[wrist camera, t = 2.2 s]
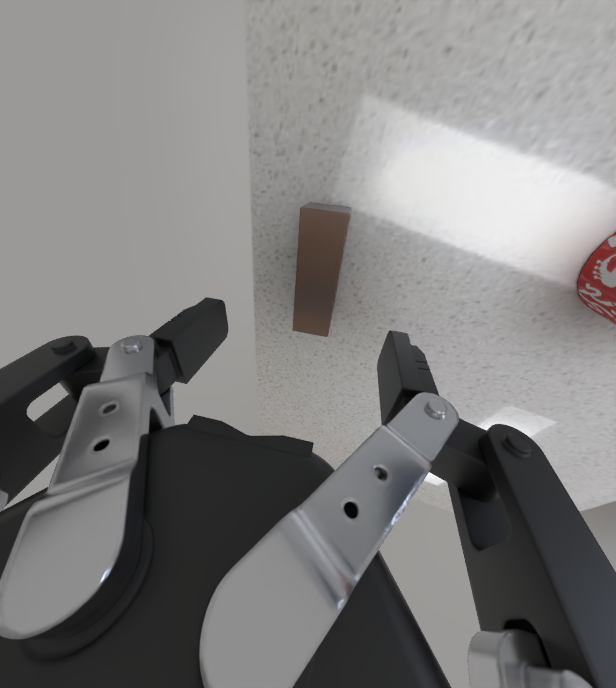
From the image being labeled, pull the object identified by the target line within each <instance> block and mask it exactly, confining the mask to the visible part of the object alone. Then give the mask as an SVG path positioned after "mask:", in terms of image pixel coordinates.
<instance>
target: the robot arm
mask: <svg viewBox="0 0 616 688" xmlns="http://www.w3.org/2000/svg"><path fill="white" fill-rule="evenodd" d="M227 333H228V323H227V315H226V308H225V304H224V302H223V301H222V300H219V299H213V298H205V299H203V300H202V301H201V302H199V303H198V304H197V305H195V306H192V307H190V308H188V309H185V310H183V311H182V312H181V313H179V314H178V315H177V316H175V317H174V318H172V319H171V321H168V322H167V323H165V324H164V325H163V326H161V327H160V328H159V329H157V330H156V331H155V332H153V333H152V334H150V335H149V336H145V335H137V336H130V337H126V338H124V339H121V340H119V341H117V342H116V343H114V344H113V345H112V346H111V347H100V348H99V347H97V348H93V346H92V345H91V343H90V342H89V340H88V338H86V337H84V336H67V337H62V338H59V339H56V340H53V341H50V342H48V343H46V344H45V345H43V346H41V347H39V348H37V349H35V350H34V351H32V352H30V353H28V354H27V355H25V356H23V357H21V358H19V359H17V360H16V361H14V362H12V363H10V364H9V365H7V366H5V367H3V368H1V369H0V688H451V686H450V684H449V682H448V680H447V679H446V677H445V675H444V673H443V671H442V669H441V667H440V665H439V663H438V661H437V659H436V658H435V656H434V654H433V652H432V650H431V648H430V646H429V644H428V642H427V641H426V638H425V637H424V635H423V633H422V631H421V629H420V627H419V625H418V623H417V621H416V620H415V618H414V616H413V614H412V612H411V610H410V608H409V606H408V604H407V602H406V600H405V599H404V597H403V595H402V593H401V591H400V589H399V587H398V585H397V583H396V581H395V580H394V578H393V576H392V574H391V572H390V570H389V568H388V566H387V564H386V562H385V561H384V559H383V557H382V555H381V553H380V551H379V548H380V547H381V545H382V544H383V542H384V540H385V539H386V537H387V536H388V534H389V533H390V531H391V530H392V528H393V527H394V525H395V523H396V522H397V520H398V519H399V517H400V516H401V514H402V513H403V511H404V509H405V508H406V506H407V505H408V503H409V502H410V500H411V499H412V497H413V496H414V494H415V493H416V491H417V489H418V488H419V486H420V485H421V483H422V482H423V480H424V479H425V477H426V476H427V474H428V472H430V473H432V474H434V475H436V476H437V477H439V478H441V479H443V480H445V481H446V482H447V483H448V487H449V492H450V496H451V501H452V505H453V509H454V514H455V518H456V523H457V527H458V531H459V536H460V540H461V545H462V549H463V554H464V558H465V562H466V566H467V571H468V576H469V580H470V584H471V589H472V593H473V598H474V602H475V606H476V611H477V616H478V620H479V624H480V628H481V631H480V632H478V633H476V634H475V635H474V636H473V637H472V639H471V641H470V644H469V648H468V670H469V688H616V572H615V570H614V569H613V567H612V565H611V564H610V562H609V560H608V559H607V557H606V555H605V554H604V552H603V551H602V549H601V547H600V545H599V544H598V542H597V541H596V539H595V537H594V536H593V534H592V532H591V531H590V529H589V527H588V526H587V524H586V522H585V521H584V519H583V517H582V516H581V514H580V512H579V511H578V509H577V507H576V506H575V504H574V503H573V501H572V499H571V498H570V496H569V494H568V493H567V491H566V489H565V488H564V486H563V484H562V483H561V481H560V479H559V478H558V476H557V474H556V473H555V471H554V469H553V468H552V466H551V465H550V463H549V461H548V460H547V458H546V456H545V455H544V453H543V451H542V450H541V449H540V447H539V446H538V445H537V444H536V443H535V442H534V441H533V440H532V439H531V438H529V437H528V436H527V435H525V434H524V433H522V432H521V431H519V430H517V429H515V428H513V427H511V426H507V425H503V424H495V425H492V426H491V427H490V428H489V429H488V430H487V431H486V430H484V429H481V428H479V427H477V426H475V425H473V424H470V423H468V422H466V421H464V420H462V419H460V418H459V416H458V413H457V411H456V409H455V408H454V407H453V406H452V405H451V404H450V403H449V402H448V401H447V400H445V399H444V398H442V397H440V396H439V394H438V391H437V388H436V385H435V382H434V380H433V377H432V374H431V372H430V369H429V366H428V364H427V360H426V357H425V355H424V353H423V352H422V351H421V350H420V349H419V348H418V347H417V346H413V345H411V344H410V340H409V337H408V334H407V333H402V332H397V331H391V330H390V331H389V332H388V334H387V337H386V340H385V342H384V345H383V348H382V350H381V353H380V356H379V359H378V365H377V372H378V384H379V396H380V409H381V421H382V425H381V426H380V427H379V428H378V429H377V430H376V431H375V432H374V433H373V434H372V435H371V436H370V437H369V438H368V439H367V440H366V441H365V442H364V443H363V444H361V445H360V446H359V447H358V448H357V449H356V450H355V451H354V452H353V453H352V454H351V455H350V456H349V457H348V458H347V459H346V460H345V461H344V462H343V463H342V464H341V465H340V466H339V467H338V468H337V469H336V470H334V469H333V468H332V467H331V465H329V464H328V463H327V462H326V461H325V460H324V459H322V458H321V457H319V456H318V455H316V454H314V453H313V452H312V448H313V442H309V441H304V440H300V439H296V438H292V437H287V436H283V435H282V436H249V435H246V434H244V433H242V432H240V431H239V430H237V429H235V428H233V427H232V426H230V425H228V424H226V423H224V422H222V421H219V420H215V419H210V418H205V417H201V416H197V415H193V417H192V418H191V419H190V421H189V422H188V424H181V425H175V423H174V397H173V388H172V384H173V383H174V382H175V381H176V382H181V383H185V384H187V383H188V382H189V381H190V379H191V378H192V377H193V376H194V374H196V372H197V371H198V370H199V369H200V368H201V367H202V365H203V364H204V363H205V362H206V361H207V360H208V358H209V357H210V356H211V355H212V354H213V352H214V351H215V350H216V349H217V348H218V347H219V346H220V344H221V343H222V342H223V341H224V340H225V338H226V337H227ZM57 383H60V384H61V385H62V386H63V388H64V389H65V390H66V391H67V392H68V394H69V395H67V396H66V397H65V398H63V399H62V400H61V401H60V402H58V403H57V404H56V405H54V406H53V407H52V408H51V409H49V410H48V411H47V412H46V413H44V414H43V415H42V416H40V417H39V418H38V419H37V420H35V421H34V422H33V421H32V420H31V419H30V418H29V417H28V416H27V408H28V406H29V405H30V403H31V402H32V401H33V400H35V399H36V398H38V397H39V396H40V395H42V394H43V393H45V392H46V391H47V390H49V389H50V388H52V387H53V386H54V385H56V384H57ZM59 454H60V456H59V459H58V462H57V465H56V467H55V470H54V473H53V476H52V479H51V482H50V485H49V487H47V488H45V489H43V490H41V491H39V492H38V493H36V494H34V495H32V496H30V497H28V498H26V499H24V500H23V501H20V502H18V503H16V504H15V505H13V506H11V507H9V508H7V509H5V510H3V508H4V507H5V506H6V505H7V504H8V503H9V502H10V501H11V500H12V499H13V498H14V497H15V496H17V494H18V493H20V492H21V491H22V490H23V489H24V488H25V487H26V486H27V485H28V484H29V483H30V482H31V481H32V480H33V479H34V478H35V477H36V476H37V475H38V474H39V473H40V472H41V471H42V470H43V469H44V468H45V467H46V466H48V465H49V463H51V462H52V461H53V460H54V459H55V458H56V457H57V456H58V455H59ZM2 510H3V511H2Z"/></svg>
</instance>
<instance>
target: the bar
mask: <svg viewBox="0 0 616 688" xmlns="http://www.w3.org/2000/svg"><path fill="white" fill-rule="evenodd" d="M350 214H351V208H350V207H342V206H335V205H327V204H319V203H312V202H311V203H309V204H307V205H305V206H303V207H301V208H300V224H299V239H298V255H297V271H296V287H295V302H294V318H293V331H298V332H304V333H309V334H314V335H320V336H325V337H327V336H328V333H329V328H330V323H331V318H332V313H333V307H334V302H335V296H336V291H337V285H338V280H339V274H340V269H341V263H342V258H343V253H344V247H345V242H346V236H347V231H348V225H349V220H350Z"/></svg>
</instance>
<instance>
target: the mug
mask: <svg viewBox="0 0 616 688" xmlns="http://www.w3.org/2000/svg"><path fill="white" fill-rule="evenodd" d="M578 292H579V296H580V298H581V299H582V301H583V302H584V303H585V304H586V305H587V306H588V307H590V308H591V309H592V310H594V311H595V312H597V313H598V314H600V315H602V316H603V317H605V318H606V319H608V320H609V321H611V322H612V323H614V324H616V233H615V234H614V235H612V236H611V237H610V238H608V239H607V240H606V241H605V242H604V243H603V244H602V245H601V246H600V247H599V248H598V249H597V250H596V251H595V252H594V253H593V254H592V256H591V257H590V258H589V260H588V261H587V262H586V264H585V266H584V267H583V269H582V272H581V274H580V276H579V280H578Z"/></svg>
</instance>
